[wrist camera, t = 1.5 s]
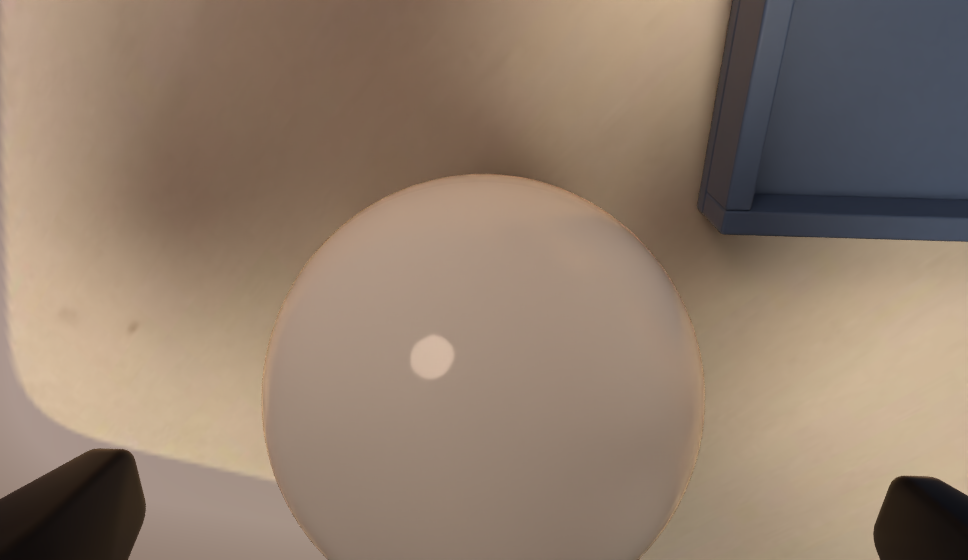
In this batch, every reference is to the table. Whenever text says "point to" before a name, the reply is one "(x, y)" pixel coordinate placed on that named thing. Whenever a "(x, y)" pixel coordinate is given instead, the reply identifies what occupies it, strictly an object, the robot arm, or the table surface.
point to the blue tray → (841, 121)
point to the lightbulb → (483, 381)
